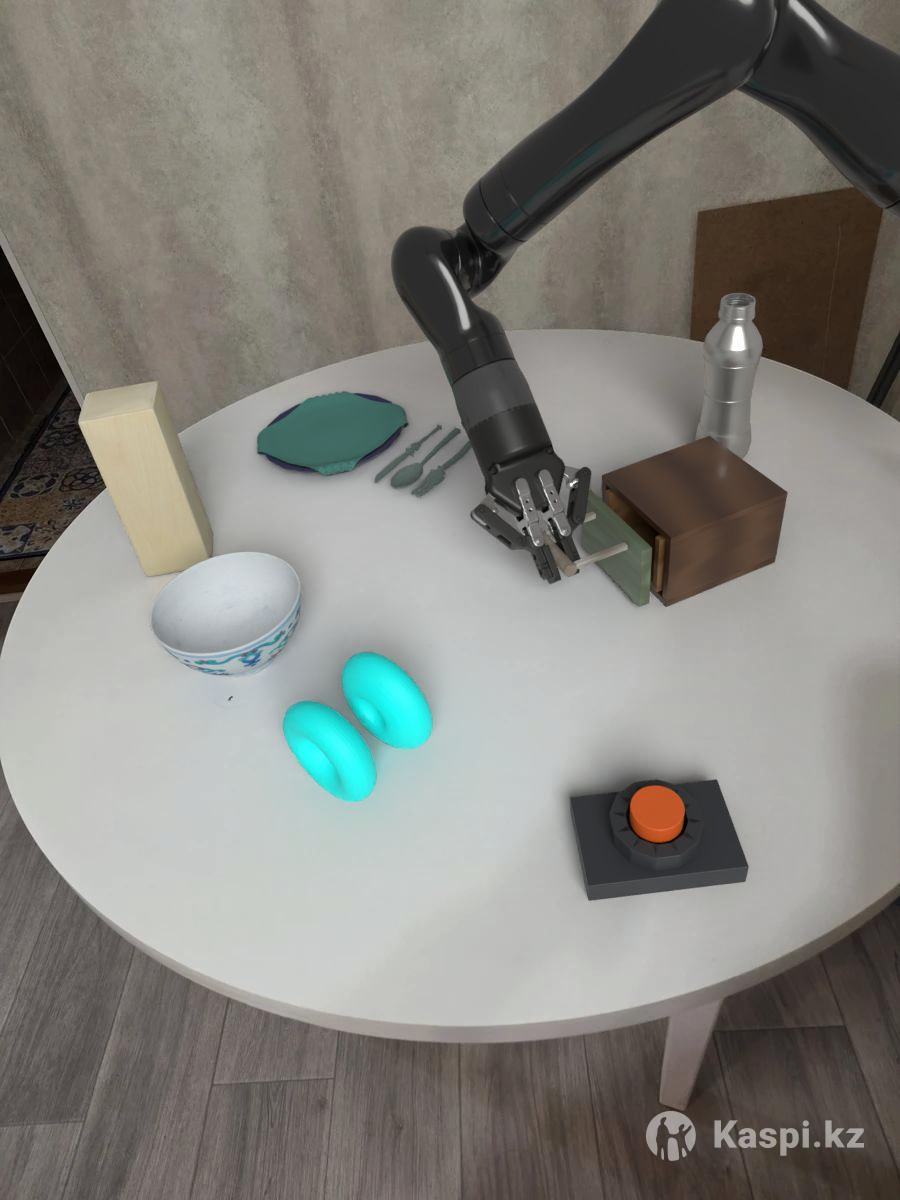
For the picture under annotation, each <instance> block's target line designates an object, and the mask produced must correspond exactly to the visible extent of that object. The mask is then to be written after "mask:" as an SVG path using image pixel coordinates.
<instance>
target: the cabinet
mask: <svg viewBox="0 0 900 1200" xmlns="http://www.w3.org/2000/svg"><path fill="white" fill-rule="evenodd" d="M608 489H611V490H612V491H613V492H614V493H616V494H617V495H618V496H619V497H620V498H621V499H622V500H623V501H624V502H625V503H626V504H628V505H629V506H630V507H631V508H632V509H633V510H634V511H635V512H636V513H637V514H639V515H640V516H641V517H642V518H643V519H644V520H645V521H646V522H647V523H648V524H649V525H651V526H652V527H653V528H654V529H655V530H656V531H657V532H658V533H659V534H660V535H661V536H663V537H664V538H665V539H666V550H665V565H664V580H663V590H661V591H659V592H656V591H655V590H654V589H653V588H652V587H651V586H650V592H651V593H652V595H654V596H655V597H656V598H657V599H658V600H659V602H661V603H662V604H663V606H665V608H668V607H670V606H672V605H675V604H677V603H679V602H682V601H684V600H687V599H689V598H692V597H694V596H696V595H699V594H702V593H704V592H707V591H709V590H711V589H714V588H717V587H719V586H721V585H724V584H726V583H729V582H730V581H734V580H735V579H737V578H740V577H743V576H745V575H747V574H749V573H753V572H755V571H757V570H759V569H762V568H764V567H767V566H770V565H771V564H775V563H776V560H777V554H778V548H779V542H780V539H781V532H782V526H783V522H784V515H785V509H786V505H787V498H788V493H789V492H788V491H787V490H785V489H784V488H783V487H782V486H780V485H778V484H777V483H776V482H775V481H773V480H772V479H770V478H769V477H768V476H766V475H765V474H763V473H762V472H761V471H759V470H758V469H757V468H755V467H754V466H753V465H751V464H749V463H748V462H747V461H746V460H744V458H743V459H741V458H740V457H738V456H737V455H736V454H734V453H733V452H731V451H730V450H729V449H727V448H726V447H725V446H723V445H722V444H720V443H719V442H718V441H716V440H715V439H714V438H712V437H711V436H707V437H704V438H702V439H699V440H696V439H695V440H693V441H691V442H688V443H686V444H683V445H680V446H678V447H677V446H676V447H675V448H672V449H669V450H666V451H663V452H661V453H658V454H655V455H652V456H650V457H647V458H644V459H641V460H640V461H636V462H634V463H631V464H628V465H624V466H622V467H619V468H617V469H614V470H612V471H609V472H605V473H604V474H603V473H602V474H601V500H602V501H603V502H604V503H605V491H606V490H608Z"/></svg>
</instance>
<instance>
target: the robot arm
mask: <svg viewBox="0 0 900 1200" xmlns="http://www.w3.org/2000/svg"><path fill="white" fill-rule="evenodd" d="M655 3H656V4H655V5H654V9H653V10H652V11H651V13H650V14H649V15H648V17H647V18H646V20H645V21H644V22H643V23H642V24H641V26H640V27H639V28H638V30H637V31H636V32H635V33H634V35H633V36H632V37H631V39H630V40H629V41H628V42H627V44H626V45H625V46H624V48H623V49H622V50H621V51H620V52H619V54H618V55H617V56H616V57H615V58H614V60H613V61H612V62H611V63H610V65H609V66H607V68H606V69H605V70H604V71H603V72H602V73H601V74H600V75H599V76H598V77H597V78H596V79H595V80H594V81H593V82H592V83H591V84H590V85H589V86H588V87H586V89H585V90H584V91H583V92H581V94H579V95H578V96H577V97H576V98H575V99H573V100H572V101H571V102H570V103H568V104H567V105H566V106H564V108H562V109H561V110H559V111H558V112H556V113H555V114H554V115H552V116H551V117H549V118H548V119H547V120H546V121H545V122H543V123H542V124H540V125H539V126H538V127H536V128H535V129H534V130H532V131H531V132H530V133H529V134H527V135H526V136H525V137H524V138H522V140H520V141H519V142H518V143H517V144H516V145H514V146H513V147H512V148H511V149H510V150H509V151H508V152H507V153H505V154H504V155H503V156H502V157H501V158H499V160H498V161H497V162H496V163H495V164H493V166H492V167H491V168H489V170H487V171H486V172H485V173H484V174H483V175H482V176H481V177H480V178H479V179H478V180H477V181H475V183H474V184H473V185H472V186H471V187H470V188H469V190H468V191H467V193H466V194H465V196H464V197H463V202H462V215H463V219H464V222H463V223H462V224H461V225H459V226H458V227H456V228H454V229H450V228H444V227H443V228H442V227H438V226H437V227H436V226H430V225H416V226H412V227H409V228H407V229H405V230H403V232H401V233H400V235H399V236H398V237H397V238H396V240H395V241H394V245H393V247H392V250H391V255H390V272H391V277H392V281H393V284H394V288H395V290H396V292H397V294H398V296H399V298H400V300H401V302H402V303H403V305H404V307H405V308H406V310H407V312H408V313H409V315H410V316H411V317H412V318H413V321H414V322H415V323H416V325H417V326H418V327H419V329H420V331H421V332H422V333H423V335H424V336H425V337H426V339H427V340H428V341H429V342H430V344H431V345H432V346H433V349H435V351H436V353H437V354H438V358H439V361H440V364H441V366H442V369H443V371H444V373H445V376H446V378H447V382H448V384H449V386H450V388H451V392H452V394H453V398H454V403H455V407H456V410H457V413H458V416H459V418H460V424H461V426H462V429H463V430H464V431H465V434H466V435H467V438H468V441H470V443H471V446H472V448H471V449H472V451H473V453H474V456H475V458H476V461H477V464H478V466H479V468H480V471H481V474H482V476H483V478H484V494H485V496H484V497H483V499H482V500H481V501H480V503H479V504H477V506H476V507H474V508H473V509H472V510H471V511H470V514H469V515H470V519H471V520H472V521H474V523H476V524H477V525H478V526H480V527H481V528H482V529H484V530H485V531H486V532H488V534H490V535H491V536H492V537H494V538H495V539H496V540H498V541H499V542H500V543H501V544H503V546H505V547H506V548H508V549H509V550H510V551H519V550H520V551H521V550H522V551H524V550H525V551H527V552H528V553H530V556H531V558H532V560H533V563H534V565H535V567H536V570H537V573H538V576H539V577H540V579H542V581H547V583H548V584H549V585H552V584H555V583H557V582H560V581H562V576H561V572H560V571H559V570H560V569H559V568H558V567H557V565H556V563H555V560H554V558H553V555H552V553H551V550H550V548H549V545H546V546H545V544H544V542H545V539H544V536H543V533H542V530H541V528H542V527H541V525H540V517H539V514H540V516H541V518H542V520H543V521H544V522H545V524H546V525H547V528H549V530H550V532H551V534H552V535H551V538H552V539H554V540H555V541H554V542H555V543H556V544H557V545H558V546H559V548H560V549H561V550H562V551H563V552H564V553H565V554H566V555H567V556H568V557H569V558H570V560H571V561H572V562H573V563H574V561H577V560H579V559H581V557H580V554H579V551H578V549H577V547H576V544H575V541H574V539H573V532H574V531H575V530H576V529H577V528H578V527H579V526H580V525H581V526H582V523H583V522H584V521H585V514H586V507H587V501H588V494H589V490H590V486H591V479H592V470H591V468H590V467H588V466H582V467H581V468H578V467H573V466H568V465H566V464H565V462H564V460H563V459H562V458H561V457H560V456H559V455H558V454H557V453H556V452H555V450H554V445H553V442H552V440H551V439H552V438H551V437H550V434H549V432H548V430H547V427H546V425H545V422H544V420H543V417H542V415H541V411H540V409H539V407H538V404H537V402H536V400H535V397H534V395H533V392H532V390H531V387H530V385H529V382H528V380H527V378H526V376H525V375H524V372H523V371H522V370H521V368H520V366H519V364H518V362H517V360H516V356H515V355H514V352H513V350H512V347H511V345H510V342H509V340H508V339H509V338H508V337H507V335H506V331H505V329H504V327H503V325H502V323H501V321H500V320H499V318H498V317H497V315H495V314H494V313H493V312H492V311H490V310H487V309H485V308H483V307H481V306H479V305H477V303H476V302H474V301H473V299H475V298H477V297H478V296H479V295H481V294H482V293H484V292H485V291H486V290H487V289H489V287H490V286H491V285H492V284H493V283H494V282H495V280H496V279H497V278H498V276H499V275H500V274H501V272H502V271H503V270H504V268H505V267H506V266H507V265H508V264H509V263H510V261H511V259H512V258H513V256H514V254H515V253H516V251H517V250H518V249H519V248H520V247H521V246H522V245H524V244H525V243H526V242H528V241H529V240H531V238H533V237H534V236H535V235H536V234H538V233H539V232H540V231H541V230H542V229H543V228H544V227H546V226H547V225H548V224H550V223H551V222H552V221H553V220H554V219H556V218H557V217H558V216H559V215H560V214H561V213H562V212H563V211H565V210H566V209H567V208H568V207H569V206H571V205H572V204H573V203H574V202H576V201H577V200H578V199H579V198H580V197H581V196H582V195H583V194H584V193H585V192H587V191H588V190H589V189H590V188H591V187H592V186H594V185H595V184H596V183H597V182H599V180H600V179H602V178H603V177H604V176H605V175H606V174H608V173H609V172H610V171H611V170H613V169H614V168H615V167H616V166H618V165H619V164H620V163H622V162H623V161H624V160H625V159H627V158H628V157H630V156H631V155H632V154H633V153H635V152H637V151H638V150H639V149H641V148H643V146H645V145H646V144H648V143H650V142H651V141H652V140H654V139H656V138H657V137H659V136H661V135H662V134H663V133H664V132H666V131H668V130H670V129H671V128H673V127H675V126H676V125H678V124H679V123H681V122H683V121H685V120H687V119H688V118H690V117H691V116H693V115H695V114H697V113H699V112H700V111H702V110H704V109H706V108H707V107H709V106H710V105H712V104H714V103H715V102H717V101H719V100H720V99H721V100H722V98H724V97H726V96H728V95H729V94H730V93H732V92H734V91H735V90H736V91H738V92H740V93H742V94H744V95H746V96H748V97H750V98H752V99H754V100H755V101H757V102H759V103H761V104H763V105H764V106H766V107H768V108H770V109H772V110H773V111H775V112H776V113H778V114H780V115H781V116H782V117H784V118H785V119H786V120H788V121H789V122H790V123H792V124H793V125H794V126H795V127H796V128H797V129H798V130H799V131H801V132H802V134H804V135H805V137H807V139H808V140H809V141H810V142H811V143H812V144H813V146H815V148H817V150H818V151H819V152H821V154H822V155H823V156H824V158H825V159H826V160H828V161H829V163H830V164H831V165H832V166H833V167H834V169H836V170H837V172H839V174H840V175H842V176H843V178H844V179H846V180H847V181H848V182H849V184H850V185H852V186H853V187H854V188H855V189H856V190H857V191H858V192H860V193H861V194H862V195H864V196H865V197H866V198H867V199H868V200H870V201H872V202H873V203H874V204H875V205H877V206H878V207H880V208H881V209H883V210H885V211H887V212H888V213H890V214H891V215H893V216H894V217H896V218H898V219H899V220H900V52H897V51H895V50H894V49H892V48H890V47H888V46H886V45H884V44H883V43H880V42H878V41H876V40H874V39H872V38H870V37H868V36H866V35H865V34H862V33H861V32H859V31H857V30H855V29H854V28H852V27H851V26H849V25H848V24H847V23H845V22H844V21H842V20H841V19H839V18H838V17H837V16H835V15H834V14H833V13H832V12H830V11H829V10H828V9H827V8H826V7H824V5H822V4H821V3H819V2H818V1H817V0H657V1H656V2H655ZM563 480H564V481H565V487H566V488H567V490H569V493H568V500H567V506H566V507H567V508H566V514H565V507H564V504H563V502H562V500H561V497H560V493H561V489H562V485H563ZM495 504H496V505H498V506H499V507H500V508H502V509H503V510H505V511H507V513H509V514H511V515H512V516H513V519H514V521H515V524H516V526H517V528H518V530H517V529H516V528H515V527H513V526H512V525H511V524H510V523H509V522H507V520H505V519H503V518H502V517H501V516H500V515H499V512H500V511H499V508H498V507H497V506H496V505H495ZM538 512H539V514H538ZM578 574H580V568H579V569H577V571H576V573H575V574H574V575H572V576H571V577H573V576H575V575H578Z"/></svg>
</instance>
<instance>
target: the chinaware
mask: <svg viewBox="0 0 900 1200" xmlns="http://www.w3.org/2000/svg"><path fill="white" fill-rule="evenodd" d="M301 585H302V584H301V582H300V577H299V575H298V572H297V571H296V570H295V568H294V567H293V566H292V565H291V564H290V562H289V563H288V562H287V561H286V560H284V559H283V558H281V557H279V556H276V555H273V554H271V553H267V552H261V551H235V552H229V553H223V554H220V555H216V556H212V558H209V559H207V560H204V561H202V562H199V563H197V564H195V565H193V566H191V567H189V568H188V569H186V570H184V571H180V572H179V573H178V574H177V575H176V576H174V577H173V578H172V579H170V581H168V582H167V584H165V586H164V587H163V588H162V589H161V590H160V591H159V592H158V594H157V596H156V597H155V599H154V601H153V603H152V606H151V608H150V611H149V627H150V631H151V633H152V635H153V636H154V638H155V639H156V641H157V642H158V643H159V645H160V646H161V647H162V648H163V649H164V651H166V652H167V653H168V654H169V655H170V656H171V657H173V658H174V659H175V660H176V661H178V663H179V662H180V663H181V664H183V665H184V666H185V667H188V668H189V669H192V670H195V671H197V672H200V673H204V674H207V675H214V676H227V677H233V678H242V677H248V676H251V675H254V674H257V673H258V672H259V673H260V671H262V670H264V669H266V668H267V667H268V666H269V665H270V664H271V663H273V661H274V659H275V658H276V657H277V655H279V654H280V653H281V652H282V651H283V649H284V648H285V647H286V646H287V645H288V643H289V641H290V640H291V639H292V636H293V635H294V632H295V631H296V627H297V625H298V623H299V619H300V614H301V608H302V587H301Z"/></svg>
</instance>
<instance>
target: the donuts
mask: <svg viewBox="0 0 900 1200" xmlns="http://www.w3.org/2000/svg"><path fill="white" fill-rule="evenodd" d="M341 687H342V692H343V694H344V698H345V700H346V702H347V704H348V706H349V708H350V710H351V711H352V712H353V714H354V716H355V717H356V718H357V719H358V721H359V722H360V723H361V724H362V726H363V727H365V729H367V730H368V731H369V732H370V734H372V735H373V736H374V737H376V738H377V739H378V740H380V741H381V742H383V743H385V744H386V745H389V746H391V747H393V748H396V749H402V750H414V749H416V748H419V747H421V746H423V745H424V744H425V743H426V742H427V741H428V740H429V739H430V736H431V734H432V731H433V726H434V719H433V714H432V713H433V712H432V710H431V707H430V705H429V702H428V700H427V698H426V696H425V695H424V693H423V691H422V690H421V688H420V686H418V684H417V683H416V682H415V680H414V679H413V678H412V677H411V675H410V674H409V673H408V672H406V671H405V670H404V669H403V668H402V667H401V666H400V665H398V664H397V663H396V662H395V661H393V660H392V659H390V658H388V657H386V656H385V655H382V654H380V653H377V652H373V651H362V652H358V653H356V654H354V655H352V656H351V657H350V658H348V659H347V661H346V662H345V664H344V666H343V668H342V673H341ZM282 730H283V734H284V739H285V741H286V743H287V745H288V747H289V749H290V750H291V752H292V753H293V755H294V757H295V759H296V760H297V761H298V763H299V764H300V765H301V767H302V768H303V769H304V770H305V771H306V773H307V774H308V775H309V777H311V778H312V779H313V780H314V781H315V782H316V783H317V784H318V785H319V786H320V787H321V788H323V789H324V790H325V791H326V792H327V793H329V794H330V795H332V796H333V797H335V798H338V799H340V800H341V801H345V802H349V803H351V802H352V803H357V802H360V801H364V800H365V799H367V798H368V797H369V796H370V795H371V794H372V792H373V791H374V790H375V787H376V784H377V766H376V762H375V759H374V756H373V753H372V751H371V749H370V747H369V746H368V743H367V742H366V740H365V739H364V737H363V736H362V735H361V734H360V733H359V731H358V730H357V729H356V728H355V726H354V725H353V724H352V723H351V722H350V721H349V720H348V719H347V718H346V717H345V716H343V714H341V713H340V712H338V711H337V710H335V709H333V707H330V706H328V705H326V704H324V703H322V702H319V701H314V700H302V701H297V702H296V703H294V704H292V705H291V706H290V707H288V708H287V710H286V712H285V714H284V716H283V719H282Z"/></svg>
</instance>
